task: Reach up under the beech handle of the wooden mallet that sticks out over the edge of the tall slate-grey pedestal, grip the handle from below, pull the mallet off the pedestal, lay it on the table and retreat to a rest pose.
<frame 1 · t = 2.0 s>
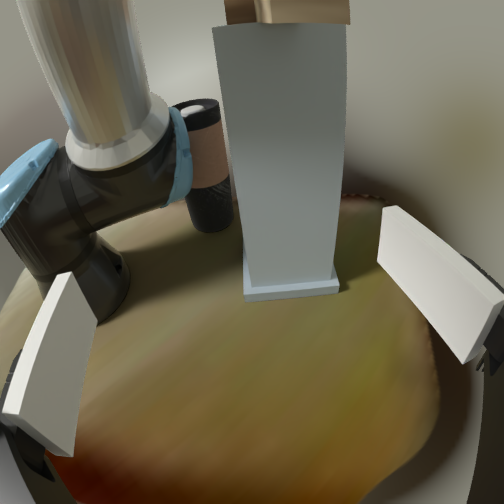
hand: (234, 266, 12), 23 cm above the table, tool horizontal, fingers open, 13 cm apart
travel mug: (213, 219, 51), on the table
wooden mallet: (280, 21, 17), point 31 cm above the table, touching pedestal
pedestal: (287, 263, 42), on the table
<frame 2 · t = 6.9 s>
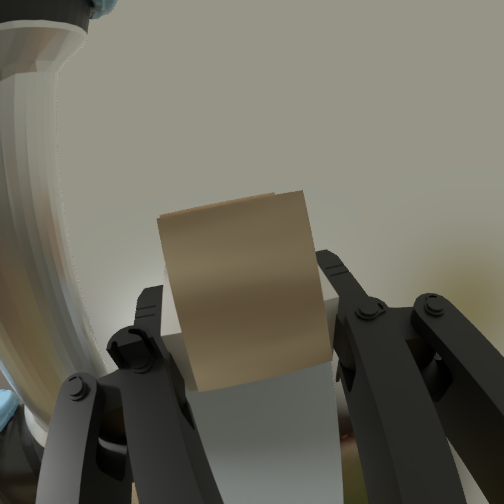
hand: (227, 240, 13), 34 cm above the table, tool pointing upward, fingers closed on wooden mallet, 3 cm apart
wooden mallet: (237, 297, 17), point 31 cm above the table, touching gripper, pedestal
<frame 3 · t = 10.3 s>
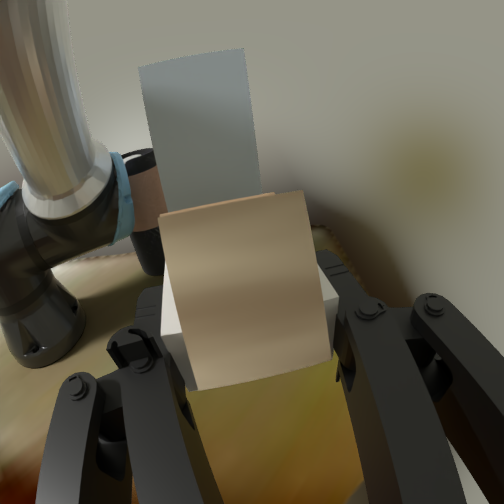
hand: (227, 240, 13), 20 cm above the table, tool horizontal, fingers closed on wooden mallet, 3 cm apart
travel mug: (162, 264, 52), on the table
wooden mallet: (236, 297, 17), point 16 cm above the table, tilted 29°, touching gripper
pedestal: (232, 291, 43), on the table
when the fingers open (11 cm above the table, at t = 12.2 s): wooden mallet drops 7 cm, on the table.
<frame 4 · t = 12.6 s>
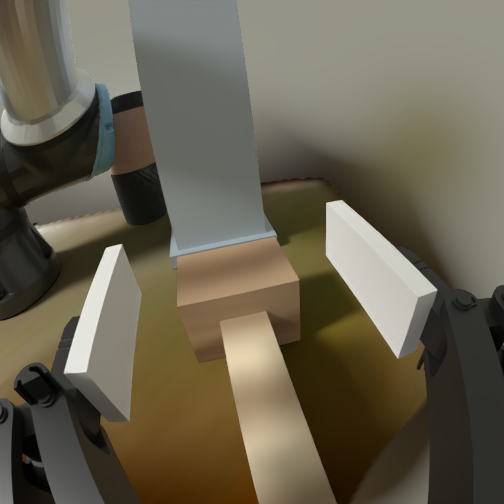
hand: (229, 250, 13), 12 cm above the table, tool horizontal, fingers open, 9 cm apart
travel mug: (146, 216, 47), on the table
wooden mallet: (258, 383, 20), on the table
pedestal: (220, 233, 39), on the table
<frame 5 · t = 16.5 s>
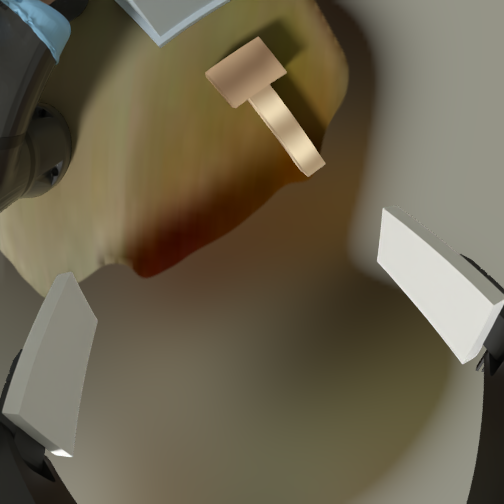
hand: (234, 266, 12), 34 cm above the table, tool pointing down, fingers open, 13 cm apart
travel mug: (69, 4, 25), on the table
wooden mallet: (266, 106, 39), on the table
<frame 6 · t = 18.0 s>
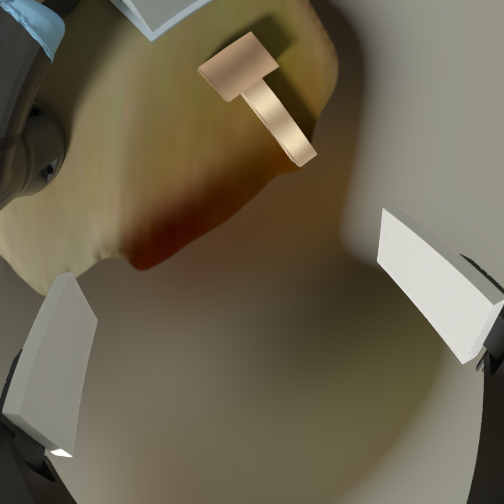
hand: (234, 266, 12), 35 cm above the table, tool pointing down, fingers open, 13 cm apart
travel mug: (59, 2, 24), on the table, touching arm
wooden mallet: (258, 99, 40), on the table
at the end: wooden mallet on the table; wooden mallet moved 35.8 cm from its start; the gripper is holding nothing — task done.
